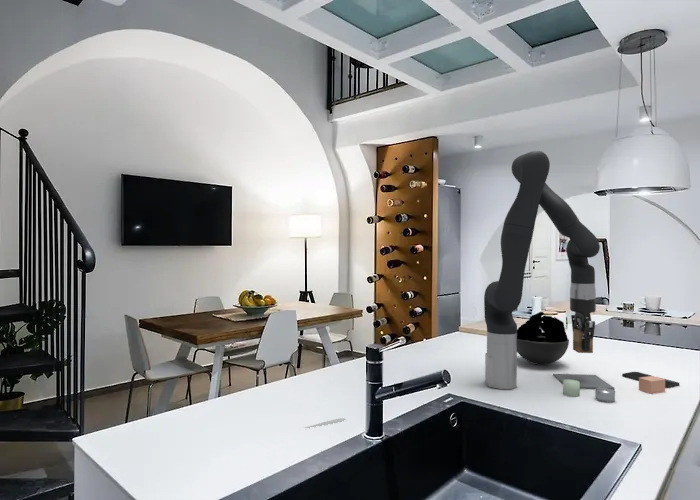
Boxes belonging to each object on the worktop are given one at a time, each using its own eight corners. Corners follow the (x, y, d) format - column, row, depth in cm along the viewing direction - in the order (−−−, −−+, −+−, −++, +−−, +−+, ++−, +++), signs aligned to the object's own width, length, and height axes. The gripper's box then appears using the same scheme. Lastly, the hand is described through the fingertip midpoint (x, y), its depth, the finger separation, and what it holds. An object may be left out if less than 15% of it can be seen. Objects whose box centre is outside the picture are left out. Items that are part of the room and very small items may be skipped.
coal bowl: (552, 374, 161) (552, 320, 161) (500, 362, 176) (501, 313, 176) (578, 364, 174) (579, 314, 173) (528, 354, 189) (529, 308, 189)
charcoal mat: (567, 388, 146) (567, 386, 146) (552, 375, 160) (552, 373, 160) (614, 389, 145) (614, 387, 145) (595, 376, 159) (595, 374, 159)
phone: (635, 371, 163) (681, 383, 149) (635, 374, 163) (681, 386, 149) (620, 374, 159) (665, 386, 146) (620, 377, 159) (665, 389, 146)
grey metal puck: (599, 403, 133) (599, 392, 133) (592, 397, 138) (592, 387, 138) (618, 403, 133) (618, 393, 133) (610, 397, 138) (610, 387, 138)
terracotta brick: (650, 394, 141) (651, 381, 141) (638, 390, 145) (638, 377, 145) (665, 392, 143) (665, 379, 143) (652, 388, 147) (652, 375, 146)
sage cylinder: (566, 396, 138) (566, 383, 138) (561, 392, 143) (561, 379, 143) (581, 397, 138) (581, 383, 138) (576, 392, 142) (576, 379, 142)
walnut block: (578, 352, 150) (578, 331, 150) (573, 349, 155) (573, 328, 155) (592, 353, 150) (592, 331, 150) (587, 349, 154) (587, 328, 154)
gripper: (563, 294, 159) (562, 343, 160) (579, 299, 145) (579, 354, 146) (585, 294, 159) (585, 344, 159) (604, 299, 144) (604, 354, 145)
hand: (582, 348), depth 152 cm, fingers closed on walnut block, 4 cm apart
